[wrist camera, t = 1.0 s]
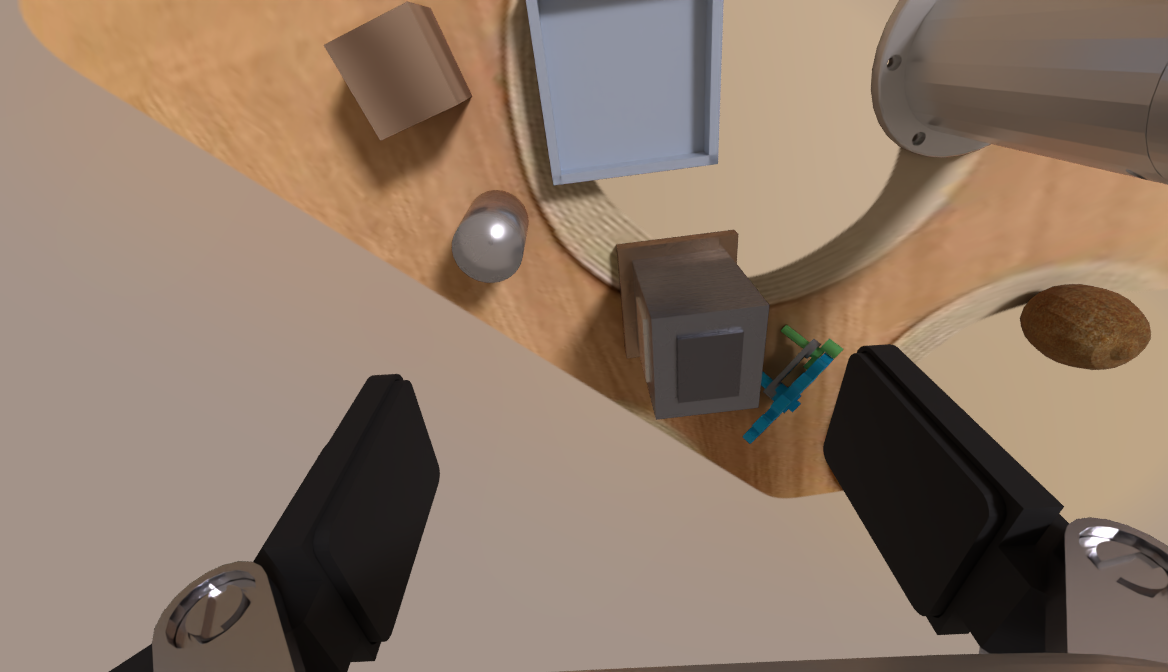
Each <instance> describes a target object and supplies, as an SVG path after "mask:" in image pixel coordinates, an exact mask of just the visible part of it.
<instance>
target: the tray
mask: <svg viewBox="0 0 1168 672" xmlns="http://www.w3.org/2000/svg"><path fill="white" fill-rule="evenodd" d="M526 5H527V11H528V18H529V25H530V31H531V38H532V45H533V52H534V58H535V65H536V72H537V78H538V85H539V92H540V98H541V105H542V112H543V118H544V125H545V132H546V139H547V145H548V152H549V159H550V165H551V172H552V179H553V185H560V184H568V183H576V182H583V181H591V180H599V179H606V178H613V177H622V176H629V175H637V174H644V173H652V172H660V171H668V170H675V169H683V168H690V167H698V166H706V165H713V164H718V144H719V143H718V142H719V117H720V88H721V87H720V86H721V59H722V30H723V29H722V28H723V0H526Z"/></svg>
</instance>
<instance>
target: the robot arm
mask: <svg viewBox="0 0 1168 672" xmlns="http://www.w3.org/2000/svg"><path fill="white" fill-rule="evenodd" d="M888 60H889V63H888V65H887V62H888ZM871 94H872V102H873V108H874V111H875V114H876V117H877V120H878V122H879V124H880V126H881V127H882V129H883V130H884V132H885V133H886V135H887V136H888V137H889V138H890V139H891V140H892V141H894V142H895V143H896V144H897V145H898V146H900V147H902V148H904V149H906V150H909V151H911V152H913V153H917V154H921V155H924V156H928V157H942V158H945V157H952V156H960V155H964V154H967V153H971V152H974V151H977V150H980V149H982V148H984V147H986V146H988V145H990V144H994V145H998V146H1002V147H1007V148H1011V149H1015V150H1020V151H1024V152H1028V153H1033V154H1037V155H1041V156H1046V157H1050V158H1054V159H1059V160H1063V161H1067V162H1072V163H1076V164H1080V165H1085V166H1089V167H1093V168H1098V169H1102V170H1106V171H1111V172H1115V173H1119V174H1124V175H1128V176H1132V177H1137V178H1141V179H1145V180H1150V181H1154V182H1159V183H1163V184H1167V185H1168V0H899V2H898V4H897V5H896V7H895V9H894V11H893V13H892V15H891V16H890V18H889V20H888V22H887V23H886V26H885V28H884V31H883V33H882V36H881V39H880V41H879V44H878V46H877V50H876V55H875V59H874V64H873V68H872V80H871ZM823 451H824V456H825V459H826V462H827V463H828V465H829V467H830V468H831V470H832V472H833V474H834V475H835V477H836V479H837V480H838V482H839V484H840V485H841V487H842V489H843V490H844V492H845V494H846V495H847V497H848V499H849V500H850V502H851V504H852V506H853V507H854V509H855V510H856V512H857V514H858V515H859V517H860V519H861V521H862V522H863V524H864V525H865V527H866V529H867V531H868V532H869V534H870V536H871V538H872V539H873V541H874V543H875V544H876V546H877V548H878V549H879V551H880V553H881V554H882V556H883V558H884V559H885V561H886V563H887V564H888V566H889V568H890V570H891V571H892V573H893V575H894V576H895V578H896V579H897V581H898V583H899V584H900V586H901V588H902V590H903V591H904V593H905V595H906V596H907V598H908V600H909V601H910V603H911V605H912V606H913V608H914V609H915V610H916V611H917V612H918V613H919V614H920V615H922V616H926V617H927V619H928V620H929V622H930V624H931V625H932V627H933V629H934V630H935V632H936V633H937V635H949V634H968V633H969V632H971V634H972V635H973V636H974V638H975V640H976V641H977V643H978V644H979V646H980V650H979V654H964V655H963V654H962V655H961V654H960V655H927V656H903V657H878V658H852V659H829V660H803V661H778V662H756V663H735V664H711V665H691V666H690V665H689V666H668V667H645V668H623V669H604V670H583V671H562V672H1168V546H1167V545H1165V544H1164V543H1162V542H1160V541H1159V540H1157V539H1155V538H1154V537H1152V536H1150V535H1148V534H1146V533H1144V532H1141V531H1139V530H1137V529H1135V528H1132V527H1130V526H1128V525H1124V524H1121V523H1118V522H1114V521H1111V520H1107V519H1098V518H1082V519H1076V520H1075V521H1073V522H1071V523H1070V524H1069V523H1068V522H1067V521H1066V520H1065V519H1064V518H1063V517H1062V516H1061V515H1060V514H1059V513H1060V511H1061V510H1062V509H1063V507H1064V506H1063V505H1062V504H1061V503H1060V502H1059V501H1058V500H1057V499H1056V498H1055V497H1054V496H1053V495H1051V494H1050V493H1049V492H1048V491H1047V490H1046V489H1045V488H1044V487H1043V486H1042V485H1041V484H1040V483H1039V482H1038V481H1037V480H1036V479H1035V478H1034V477H1033V476H1031V474H1029V473H1028V472H1027V471H1026V470H1025V469H1024V468H1023V467H1022V466H1021V465H1020V464H1019V463H1018V462H1017V461H1016V460H1015V459H1014V458H1013V457H1012V456H1011V455H1010V454H1009V453H1008V452H1006V451H1005V450H1004V449H1003V448H1002V447H1001V446H1000V445H999V444H998V443H997V442H996V441H995V440H994V439H993V438H992V437H991V436H990V435H989V434H988V433H986V432H985V430H983V429H982V428H981V427H980V426H979V425H978V424H977V423H976V422H975V421H974V420H973V419H972V418H971V417H970V416H969V415H968V414H967V413H966V412H965V411H964V410H963V409H961V408H960V407H959V406H958V405H957V404H956V403H955V402H954V401H953V400H952V399H951V398H950V397H949V396H948V395H947V394H946V393H945V392H944V391H943V390H942V389H940V388H939V387H938V386H937V385H936V384H935V383H934V382H933V381H932V380H931V379H930V378H929V377H928V376H927V375H926V374H925V373H924V372H923V371H922V370H921V369H920V368H919V367H917V365H915V364H914V363H913V362H912V361H911V360H910V359H909V358H908V357H907V356H906V355H905V354H904V353H903V352H902V351H901V350H900V349H899V348H898V347H896V346H895V345H890V344H888V345H872V346H863V347H860V348H859V350H858V351H857V353H854V354H852V355H851V356H850V358H849V360H848V364H847V367H846V371H845V374H844V377H843V381H842V384H841V388H840V391H839V394H838V398H837V401H836V405H835V408H834V411H833V415H832V418H831V421H830V425H829V428H828V432H827V435H826V438H825V442H824V446H823ZM439 471H440V470H439V465H438V462H437V459H436V456H435V453H434V450H433V447H432V444H431V441H430V438H429V435H428V432H427V429H426V426H425V423H424V420H423V417H422V414H421V411H420V408H419V405H418V402H417V399H416V396H415V393H414V390H413V387H412V384H411V382H410V381H408V380H403V378H402V377H401V376H400V375H399V374H389V375H374V376H371V377H369V378H368V379H367V381H366V383H365V384H364V386H363V387H362V389H361V390H360V392H359V394H358V395H357V397H356V399H355V400H354V402H353V403H352V405H351V407H350V409H349V410H348V412H347V413H346V415H345V416H344V418H343V420H342V421H341V423H340V425H339V426H338V428H337V429H336V431H335V433H334V434H333V436H332V438H331V439H330V441H329V442H328V444H327V445H326V446H325V447H324V448H323V450H322V452H321V453H320V455H319V456H318V458H317V460H316V461H315V463H314V465H313V466H312V468H311V469H310V471H309V472H308V474H307V476H306V477H305V479H304V481H303V482H302V484H301V485H300V487H299V489H298V490H297V492H296V493H295V495H294V497H293V498H292V500H291V502H290V503H289V505H288V507H287V508H286V510H285V511H284V513H283V515H282V516H281V518H280V519H279V521H278V522H277V524H276V526H275V527H274V529H273V531H272V532H271V534H270V535H269V537H268V539H267V540H266V542H265V543H264V545H263V547H262V548H261V550H260V552H259V553H258V555H257V557H256V558H255V560H254V561H253V562H248V561H247V562H246V561H237V562H234V563H230V564H225V565H222V566H220V567H218V568H215V569H214V570H211V571H209V572H207V573H205V574H204V575H202V576H201V577H199V578H198V579H196V580H195V581H193V582H192V583H190V584H189V585H188V586H187V587H186V588H185V589H183V590H182V591H181V592H180V593H179V594H178V595H177V596H176V597H175V598H174V599H173V600H172V601H171V603H170V604H169V605H168V607H167V608H166V609H165V610H164V611H163V613H162V615H161V617H160V618H159V620H158V623H157V624H156V626H155V628H154V634H153V641H152V644H151V645H149V646H148V647H146V648H145V649H143V650H142V651H140V652H139V653H137V654H135V655H134V656H132V657H131V658H129V659H128V660H126V661H125V662H123V663H122V664H120V665H119V666H117V667H115V668H114V669H112V670H111V671H109V672H347V671H348V668H349V665H350V662H364V661H375V659H376V656H377V653H378V650H379V647H380V644H381V642H385V641H387V640H388V639H389V637H390V636H391V634H392V631H393V628H394V625H395V621H396V618H397V615H398V612H399V609H400V605H401V602H402V599H403V596H404V593H405V589H406V586H407V583H408V580H409V577H410V573H411V570H412V567H413V564H414V561H415V557H416V554H417V551H418V547H419V544H420V541H421V538H422V535H423V532H424V528H425V525H426V522H427V519H428V515H429V512H430V509H431V506H432V503H433V499H434V496H435V493H436V490H437V487H438V483H439V477H440V472H439Z"/></svg>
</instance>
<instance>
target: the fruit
mask: <svg viewBox="0 0 1168 672" xmlns="http://www.w3.org/2000/svg"><path fill="white" fill-rule="evenodd" d="M1020 322H1021V327H1022V330H1023V333H1024V335H1025V337H1026V338H1027V339H1028V341H1029V342H1030V343H1031V344H1032V345H1033V346H1034V347H1035V348H1036V349H1037V350H1038V351H1040V352H1041V353H1042V354H1044V355H1045V356H1046V357H1048V358H1050V359H1052V360H1054V361H1056V362H1058V363H1061V364H1065V365H1068V366H1072V367H1077V368H1084V369H1090V370H1100V369H1109V368H1115V367H1118V366H1120V365H1123V364H1125V363H1127V362H1129V361H1130V360H1132V359H1133V358H1135V357H1136V356H1138V355H1139V354H1140V353H1141V352H1142V351H1143V350H1144V349H1145V347H1146V346H1147V344H1148V342H1149V341H1150V337H1151V331H1150V325H1149V322H1148V320H1147V319H1146V317H1145V316H1144V314H1143V313H1142V312H1141V311H1140V310H1139V308H1138V307H1136V306H1135V305H1134V304H1133V303H1132V302H1131V301H1130V300H1129V299H1127V298H1125V297H1123V296H1121V295H1120V294H1118V293H1115V292H1112V291H1109V290H1107V289H1103V288H1098V287H1094V286H1088V285H1082V284H1069V285H1060V286H1054V287H1051V288H1049V289H1046V290H1044V291H1042V292H1040V293H1038V294H1037V295H1036V296H1034V297H1033V298H1032V299H1030V301H1029V302H1028V303H1027V304H1026V305H1025V307H1024V309H1023V311H1022V314H1021V317H1020Z"/></svg>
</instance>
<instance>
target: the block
mask: <svg viewBox="0 0 1168 672" xmlns="http://www.w3.org/2000/svg"><path fill="white" fill-rule="evenodd" d="M324 47H325V48H326V50H327V52H328V53H329V55H330V57H331V58H332V60H333V62H334V63H335V65H336V67H337V68H338V70H339V72H340V74H341V75H342V77H343V79H344V80H345V82H346V84H347V85H348V87H349V89H350V90H351V92H352V94H353V95H354V97H355V99H356V100H357V102H358V104H359V106H360V107H361V109H362V111H363V112H364V114H365V116H366V117H367V119H368V121H369V122H370V124H371V126H372V127H373V129H374V131H375V132H376V134H377V136H378V138H379V139H380V141H381V140H383V139H385V138H387V137H390V136H392V135H394V134H396V133H398V132H400V131H402V130H405V129H407V128H409V127H411V126H413V125H415V124H417V123H420V122H422V121H424V120H426V119H428V118H430V117H432V116H435V115H437V114H439V113H441V112H443V111H445V110H447V109H449V108H452V107H454V106H456V105H458V104H460V103H461V102H463V101H465V100H467V99H468V98H470V97H472V95H471V93H470V90H469V88H468V86H467V84H466V82H465V80H464V78H463V76H462V73H461V71H460V69H459V67H458V65H457V63H456V61H455V59H454V56H453V54H452V52H451V50H450V48H449V46H448V44H447V42H446V39H445V37H444V35H443V33H442V31H441V29H440V27H439V25H438V22H437V20H436V18H435V16H434V14H433V12H432V10H431V8H429V7H425V6H421V5H418V4H414V3H411V2H405V3H404V4H402V5H400V6H398V7H396V8H394V9H392V10H390V11H388V12H386V13H384V14H382V15H380V16H379V17H377V18H375V19H373V20H371V21H369V22H367V23H365V24H363V25H361V26H359V27H357V28H355V29H353V30H352V31H350V32H348V33H346V34H344V35H342V36H340V37H338V38H336V39H334V40H332V41H330V42H328V43H327V44H325V45H324Z"/></svg>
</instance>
